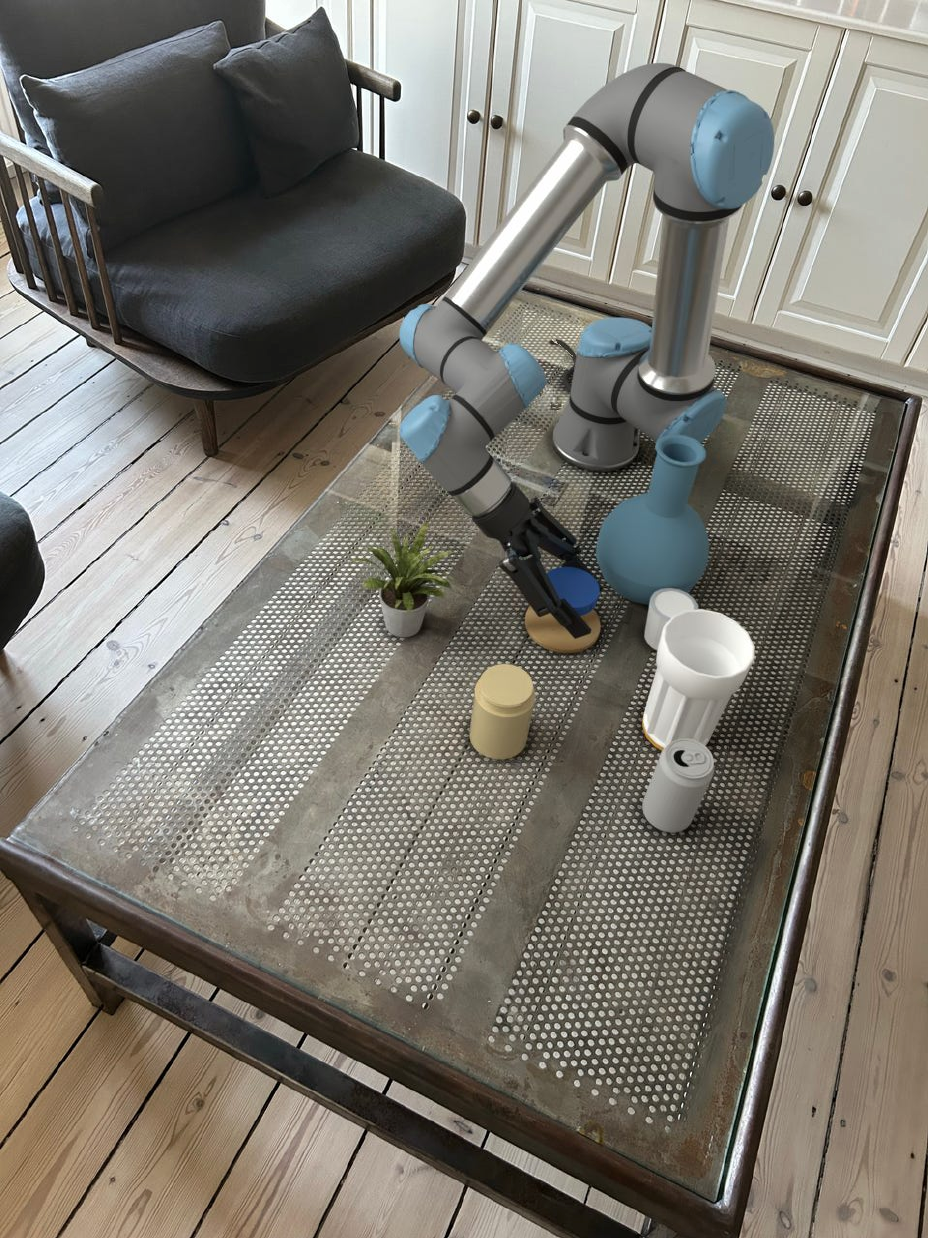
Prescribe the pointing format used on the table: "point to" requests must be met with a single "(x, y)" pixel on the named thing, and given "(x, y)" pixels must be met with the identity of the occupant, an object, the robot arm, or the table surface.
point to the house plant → (406, 584)
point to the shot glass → (665, 611)
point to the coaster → (560, 632)
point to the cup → (695, 676)
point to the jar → (502, 711)
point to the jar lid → (575, 588)
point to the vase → (657, 528)
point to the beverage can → (678, 785)
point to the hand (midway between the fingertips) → (589, 612)
